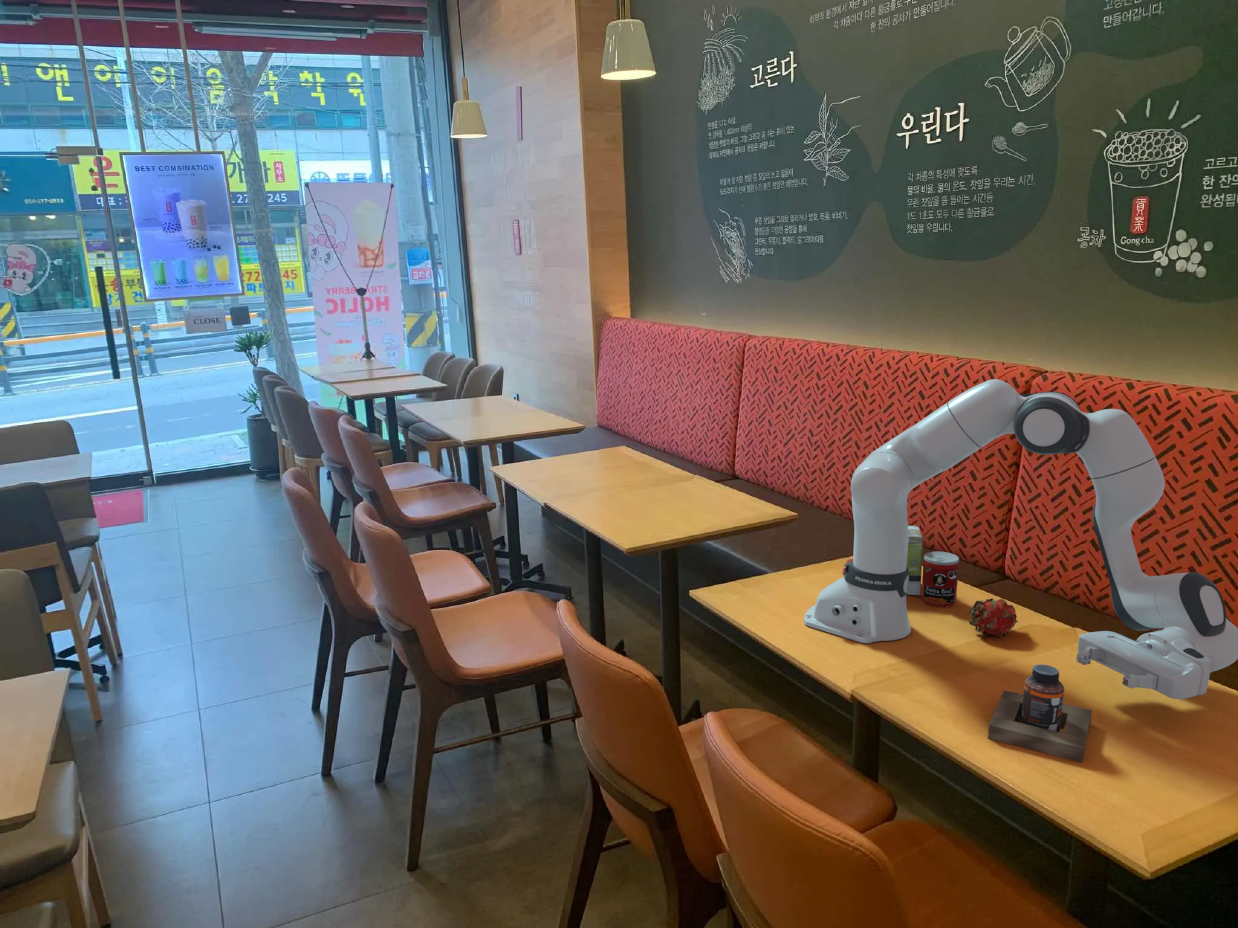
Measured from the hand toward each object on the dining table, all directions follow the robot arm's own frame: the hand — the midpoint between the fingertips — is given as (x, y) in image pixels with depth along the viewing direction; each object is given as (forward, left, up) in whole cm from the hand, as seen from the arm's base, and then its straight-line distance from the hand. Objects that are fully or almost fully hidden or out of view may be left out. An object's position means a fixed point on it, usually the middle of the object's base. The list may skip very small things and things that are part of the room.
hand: (1102, 670), depth 149 cm
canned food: (-36, +40, -9) cm, 55 cm away
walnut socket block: (-8, -10, -9) cm, 15 cm away
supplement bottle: (-8, -10, -9) cm, 15 cm away
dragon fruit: (-22, +28, -9) cm, 37 cm away
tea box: (-49, +43, -9) cm, 66 cm away
